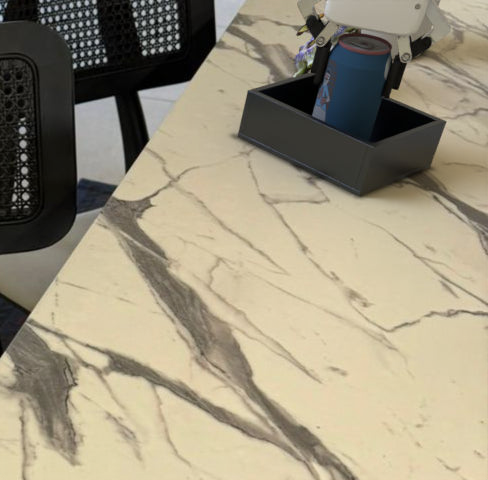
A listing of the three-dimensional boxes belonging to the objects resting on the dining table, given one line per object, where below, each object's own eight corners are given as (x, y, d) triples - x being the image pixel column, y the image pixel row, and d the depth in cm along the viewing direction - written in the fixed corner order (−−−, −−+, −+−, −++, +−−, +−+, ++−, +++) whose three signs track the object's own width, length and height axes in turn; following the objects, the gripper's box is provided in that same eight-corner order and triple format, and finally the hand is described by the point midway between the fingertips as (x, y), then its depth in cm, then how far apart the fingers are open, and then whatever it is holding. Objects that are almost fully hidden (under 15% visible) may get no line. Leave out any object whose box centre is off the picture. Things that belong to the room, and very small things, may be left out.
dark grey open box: (429, 170, 118) (447, 121, 114) (357, 198, 111) (374, 147, 107) (308, 115, 128) (321, 68, 124) (236, 138, 121) (247, 90, 117)
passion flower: (288, 123, 139) (291, 31, 138) (372, 119, 137) (376, 26, 136) (293, 101, 128) (296, 1, 127) (384, 97, 126) (388, -5, 125)
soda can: (375, 150, 119) (409, 44, 111) (346, 166, 115) (378, 58, 107) (323, 130, 122) (352, 26, 114) (293, 145, 118) (321, 39, 110)
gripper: (494, -84, 103) (433, 92, 115) (322, -111, 107) (280, 61, 119) (493, -67, 98) (429, 115, 109) (311, -97, 101) (269, 83, 113)
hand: (352, 86), depth 114 cm, fingers closed on soda can, 7 cm apart
